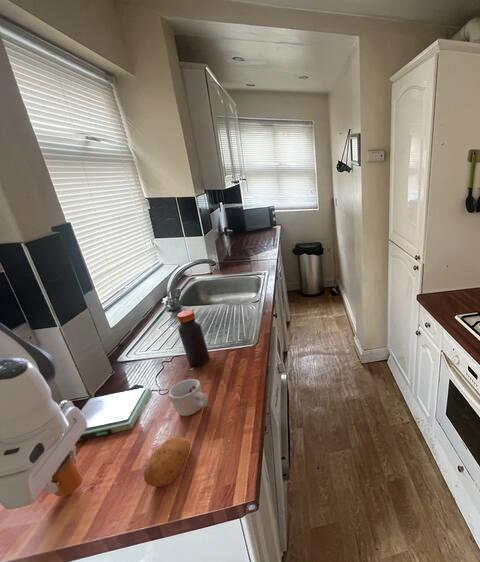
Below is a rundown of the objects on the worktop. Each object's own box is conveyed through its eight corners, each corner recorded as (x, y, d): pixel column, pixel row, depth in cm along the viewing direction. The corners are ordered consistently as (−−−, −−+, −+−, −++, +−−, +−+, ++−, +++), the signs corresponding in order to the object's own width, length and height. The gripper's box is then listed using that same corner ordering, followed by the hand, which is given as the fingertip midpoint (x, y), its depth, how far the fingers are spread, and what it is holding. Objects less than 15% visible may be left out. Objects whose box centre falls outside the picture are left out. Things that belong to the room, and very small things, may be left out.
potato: (142, 499, 67) (128, 475, 65) (171, 452, 79) (161, 430, 77) (175, 491, 68) (163, 467, 65) (199, 445, 80) (190, 423, 78)
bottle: (200, 368, 109) (185, 319, 101) (184, 365, 111) (169, 317, 103) (214, 357, 115) (201, 309, 107) (199, 354, 117) (185, 307, 109)
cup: (219, 403, 93) (213, 382, 90) (199, 424, 86) (192, 402, 83) (191, 397, 96) (184, 376, 93) (169, 416, 89) (161, 395, 86)
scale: (60, 446, 80) (56, 439, 79) (92, 404, 94) (88, 397, 93) (130, 430, 84) (127, 423, 83) (151, 392, 98) (148, 385, 97)
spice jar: (48, 499, 66) (34, 477, 63) (62, 479, 70) (49, 457, 67) (75, 493, 67) (62, 470, 64) (87, 473, 71) (75, 451, 69)
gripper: (50, 398, 71) (73, 442, 76) (-28, 482, 53) (10, 531, 58) (83, 392, 72) (104, 435, 78) (18, 471, 54) (51, 520, 59)
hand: (63, 477), depth 68 cm, fingers closed on spice jar, 4 cm apart
